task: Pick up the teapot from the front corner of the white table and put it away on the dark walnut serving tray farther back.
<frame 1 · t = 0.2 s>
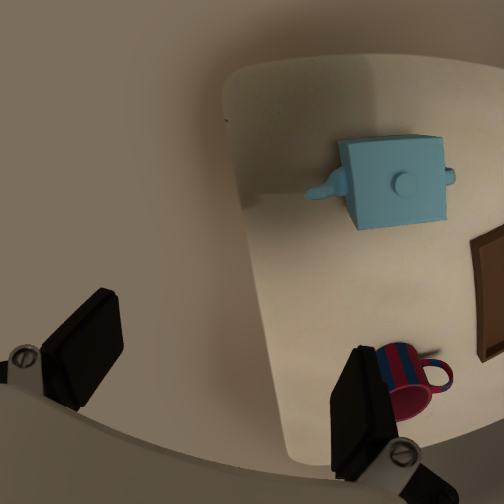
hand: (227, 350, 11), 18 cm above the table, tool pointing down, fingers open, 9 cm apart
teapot: (369, 170, 25), on the table
mug: (404, 360, 32), on the table
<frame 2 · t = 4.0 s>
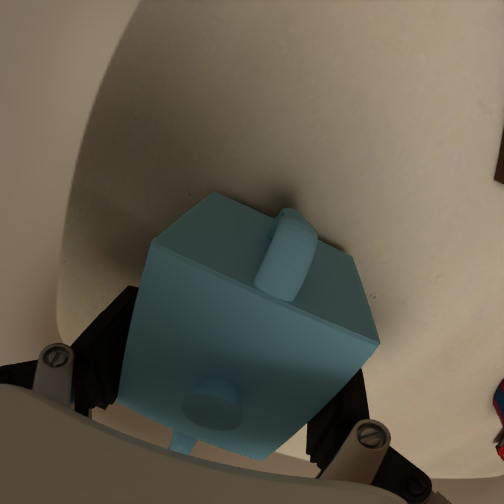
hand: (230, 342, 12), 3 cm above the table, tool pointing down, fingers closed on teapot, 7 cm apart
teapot: (244, 297, 15), on the table, touching gripper
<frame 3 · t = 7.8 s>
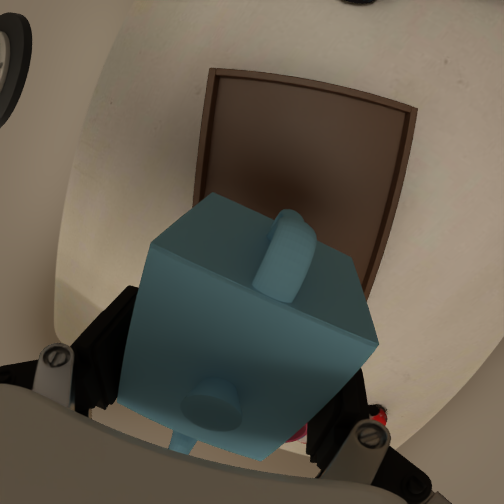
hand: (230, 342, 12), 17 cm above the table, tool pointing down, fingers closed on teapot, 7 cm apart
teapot: (244, 297, 15), point 14 cm above the table, touching gripper
tray: (294, 201, 27), on the table
race car: (340, 417, 37), on the table
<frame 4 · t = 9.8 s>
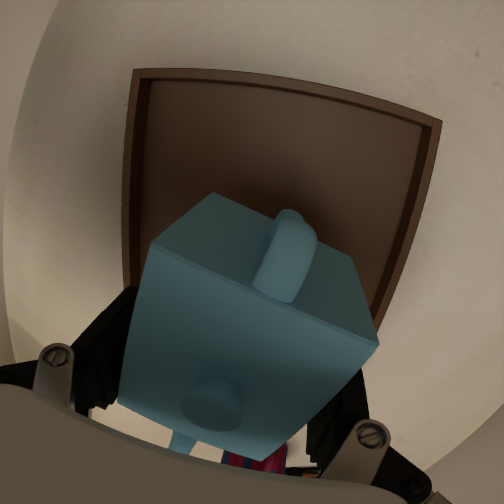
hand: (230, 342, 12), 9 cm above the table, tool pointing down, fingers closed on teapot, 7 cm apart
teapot: (244, 297, 15), point 5 cm above the table, touching gripper
tray: (258, 254, 19), on the table
mug: (263, 439, 28), on the table
when the fingers open (4 cm above the table, at t = 11.6 s): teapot stays where it is, resting on tray.
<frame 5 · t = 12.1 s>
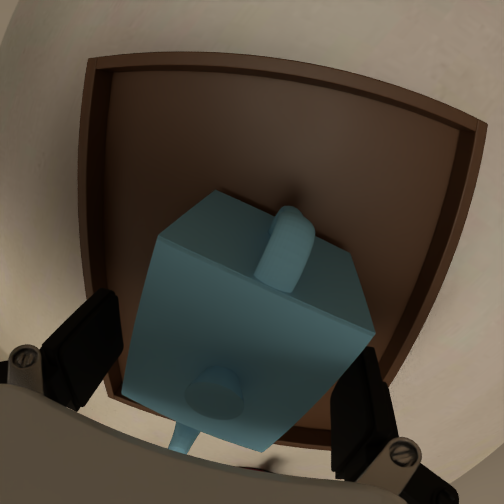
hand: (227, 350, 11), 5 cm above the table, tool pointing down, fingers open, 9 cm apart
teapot: (246, 293, 15), resting on tray
tray: (248, 290, 15), on the table
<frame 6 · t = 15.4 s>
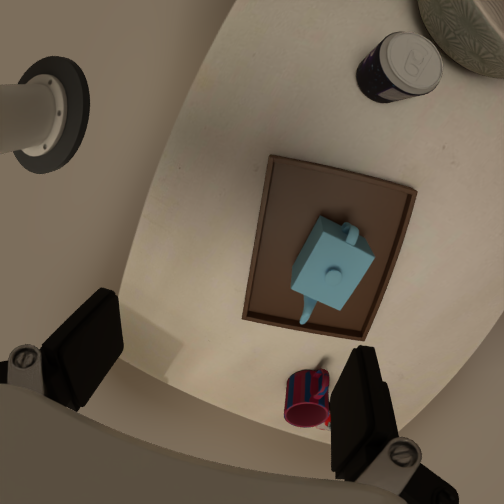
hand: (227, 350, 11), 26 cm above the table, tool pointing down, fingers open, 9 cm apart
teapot: (324, 255, 37), resting on tray
beverage can: (378, 80, 28), on the table
planter: (459, 26, 22), on the table
tray: (324, 254, 37), on the table
mug: (312, 376, 45), on the table
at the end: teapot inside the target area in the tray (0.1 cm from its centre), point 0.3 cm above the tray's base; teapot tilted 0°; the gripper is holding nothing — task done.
